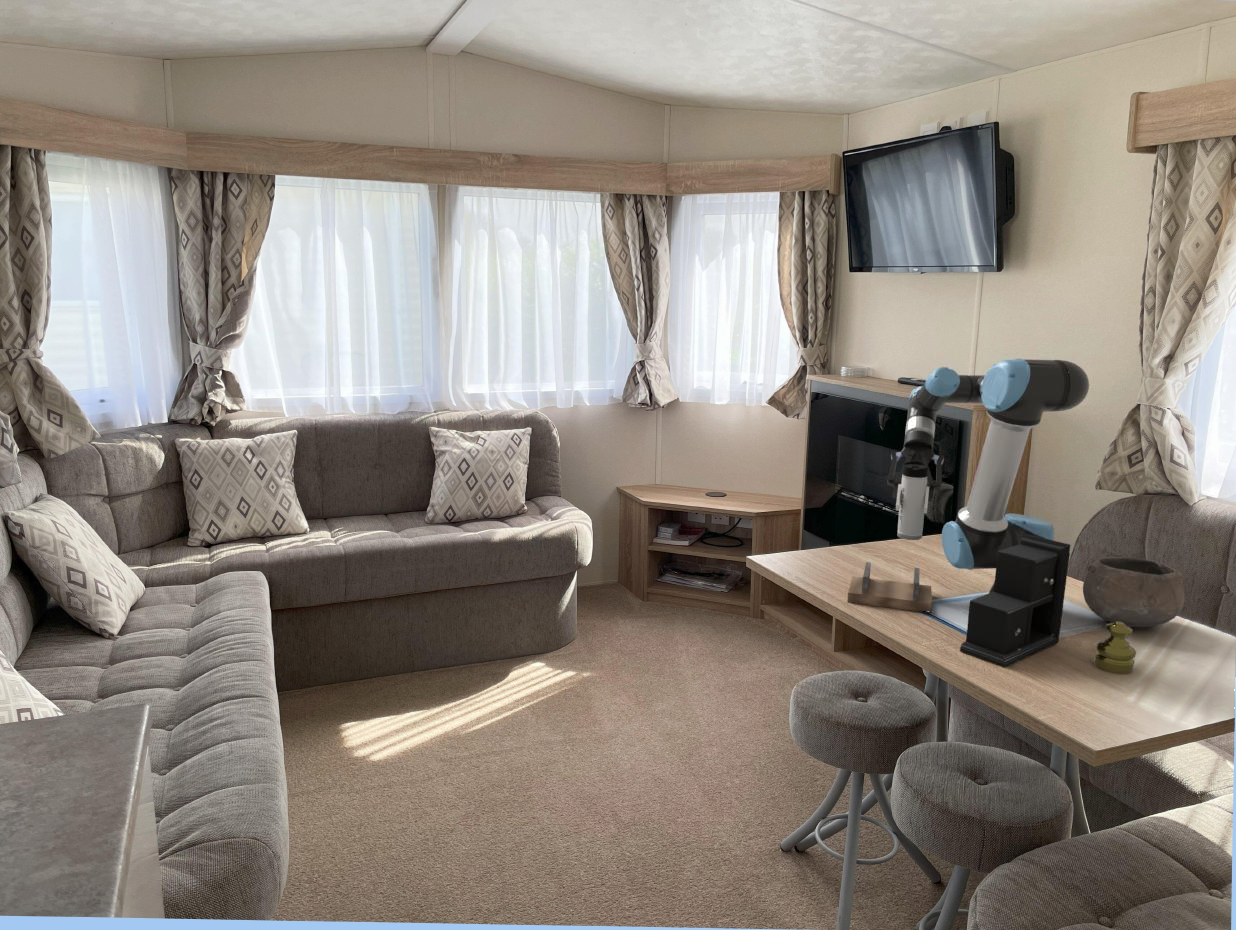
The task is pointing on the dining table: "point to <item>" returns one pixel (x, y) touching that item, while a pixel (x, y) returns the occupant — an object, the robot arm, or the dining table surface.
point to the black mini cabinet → (1020, 603)
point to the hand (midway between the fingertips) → (911, 509)
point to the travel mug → (912, 500)
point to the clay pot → (1133, 591)
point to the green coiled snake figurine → (1116, 650)
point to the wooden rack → (890, 592)
